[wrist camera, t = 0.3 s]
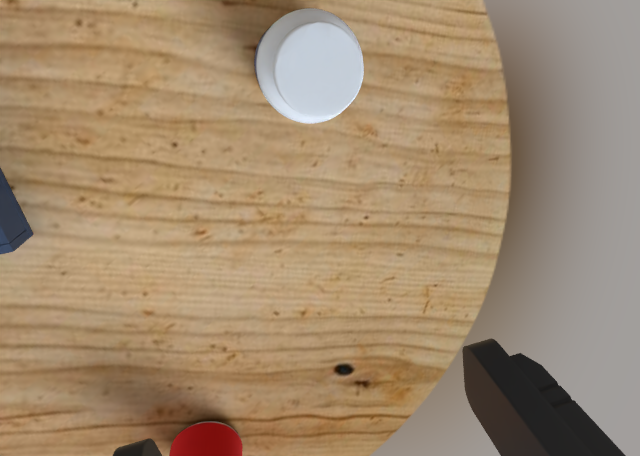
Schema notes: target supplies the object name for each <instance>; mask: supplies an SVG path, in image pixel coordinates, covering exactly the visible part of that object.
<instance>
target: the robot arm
mask: <svg viewBox="0 0 640 456" xmlns="http://www.w3.org/2000/svg"><path fill="white" fill-rule="evenodd" d="M463 366H464V382H465V391H466V395H467V398H468V401H469V403H470V406H471V408H472V410H473V412H474V414H475V415H476V417H477V418H478V420H479V421H480V423H481V425H482V426H483V428H484V429H485V431H486V433H487V434H488V436H489V437H490V439H491V440H492V442H493V444H494V445H495V447H496V448H497V450H498V452H499V453H500V455H501V456H625V455H624V454H623V453H622V451H621V450H620V449H619V448H618V447H617V446H616V445H615V444H614V443H613V442H612V441H611V440H610V439H609V437H608V436H607V435H606V434H605V433H604V432H603V431H602V430H601V429H600V428H599V427H598V426H597V425H596V423H595V422H594V421H593V420H592V419H591V418H590V417H589V416H588V415H587V414H586V413H585V412H584V411H583V410H582V408H581V407H580V406H579V405H578V404H577V403H576V402H575V401H573V400H572V399H571V397H570V396H569V394H568V393H567V392H566V391H565V390H564V389H563V388H562V387H561V386H559V385H558V383H557V381H556V380H555V379H554V378H553V377H552V376H551V375H550V374H549V373H548V372H547V371H546V370H545V369H544V368H543V366H542V365H540V364H538V363H537V362H535V361H533V360H531V359H529V358H528V357H526V356H524V355H522V354H521V353H519V354H516V355H512V356H509V355H508V354H507V353H506V352H505V351H504V349H503V348H502V347H501V346H500V345H499V344H498V343H497V341H495V340H494V339H488V340H485V341H481V342H478V343H474V344H471V345H468V346H464V347H463ZM113 456H162V454H161V453H160V451H159V449H158V447H157V446H156V444H155V442H154V441H153V440H152V439H146V440H142V441H139V442H135V443H132V444H129V445H125V446H122V447H119V448H117V449H116V450H115V452H114V454H113Z"/></svg>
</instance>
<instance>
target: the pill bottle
mask: <svg viewBox="0 0 640 456" xmlns="http://www.w3.org/2000/svg"><path fill="white" fill-rule="evenodd" d="M254 66H255V73H256V77H257V80H258V83H259V86H260V88H261V90H262V92H263V94H264V96H265V98H266V99H267V101H268V102H269V103H270V104H271V105H272V106H273V107H274V108H275V109H276V110H277V111H278V112H279V113H281V114H282V115H284V116H285V117H287V118H289V119H291V120H294V121H297V122H301V123H320V122H324V121H327V120H329V119H332V118H334V117H335V116H337V115H338V114H340V113H341V112H342V111H344V110H345V109H346V108H347V107H348V106H349V105H350V104H351V102H352V101H353V100H354V99H355V97H356V95H357V94H358V92H359V89H360V87H361V84H362V80H363V74H364V65H363V57H362V52H361V48H360V45H359V43H358V40H357V38H356V36H355V35H354V33H353V32H352V30H351V29H350V28H349V27H348V25H347V24H346V23H345V22H344V21H342V20H341V19H340V18H339V17H337V16H335V15H334V14H332V13H330V12H327V11H324V10H320V9H314V8H306V9H300V10H296V11H293V12H290V13H288V14H286V15H284V16H283V17H281V18H280V19H279V20H277V21H276V22H275V23H274V24H273V25H272V26H271V27H270V28H269V29H268V30H267V31H266V32H265V33H264V35H263V36H262V37H261V39H260V41H259V43H258V45H257V48H256V52H255V59H254Z"/></svg>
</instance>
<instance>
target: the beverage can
mask: <svg viewBox="0 0 640 456" xmlns="http://www.w3.org/2000/svg"><path fill="white" fill-rule="evenodd" d="M169 456H242V442H241V439H240V436H239V435H238V433H237V432H236V431H235V430H234V429H233V428H232V427H230V426H228V425H226V424H224V423H220V422H214V421H206V422H200V423H196V424H193V425H191V426H189V427H187V428H186V429H184V430H183V431H182V432H180V433H179V434H178V435H177V436H176V438H175V439H174V441H173V443H172V446H171V450H170V455H169Z"/></svg>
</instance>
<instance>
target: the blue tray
mask: <svg viewBox="0 0 640 456" xmlns="http://www.w3.org/2000/svg"><path fill="white" fill-rule="evenodd" d="M32 235H33V232H32V230H31V228H30V226H29V224H28V222H27V220H26V218H25V216H24V214H23V212H22V210H21V208H20V206H19V204H18V202H17V200H16V198H15V196H14V194H13V192H12V190H11V188H10V186H9V184H8V182H7V180H6V178H5V176H4V174H3V172H2V170H1V168H0V254H4V253H9V252H13V251H15V250H16V249H17V248H18V247H19V246H20V245H22V244H23V243H24V242H25V241H26V240H28V239H29V238H30V237H31V236H32Z"/></svg>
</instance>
